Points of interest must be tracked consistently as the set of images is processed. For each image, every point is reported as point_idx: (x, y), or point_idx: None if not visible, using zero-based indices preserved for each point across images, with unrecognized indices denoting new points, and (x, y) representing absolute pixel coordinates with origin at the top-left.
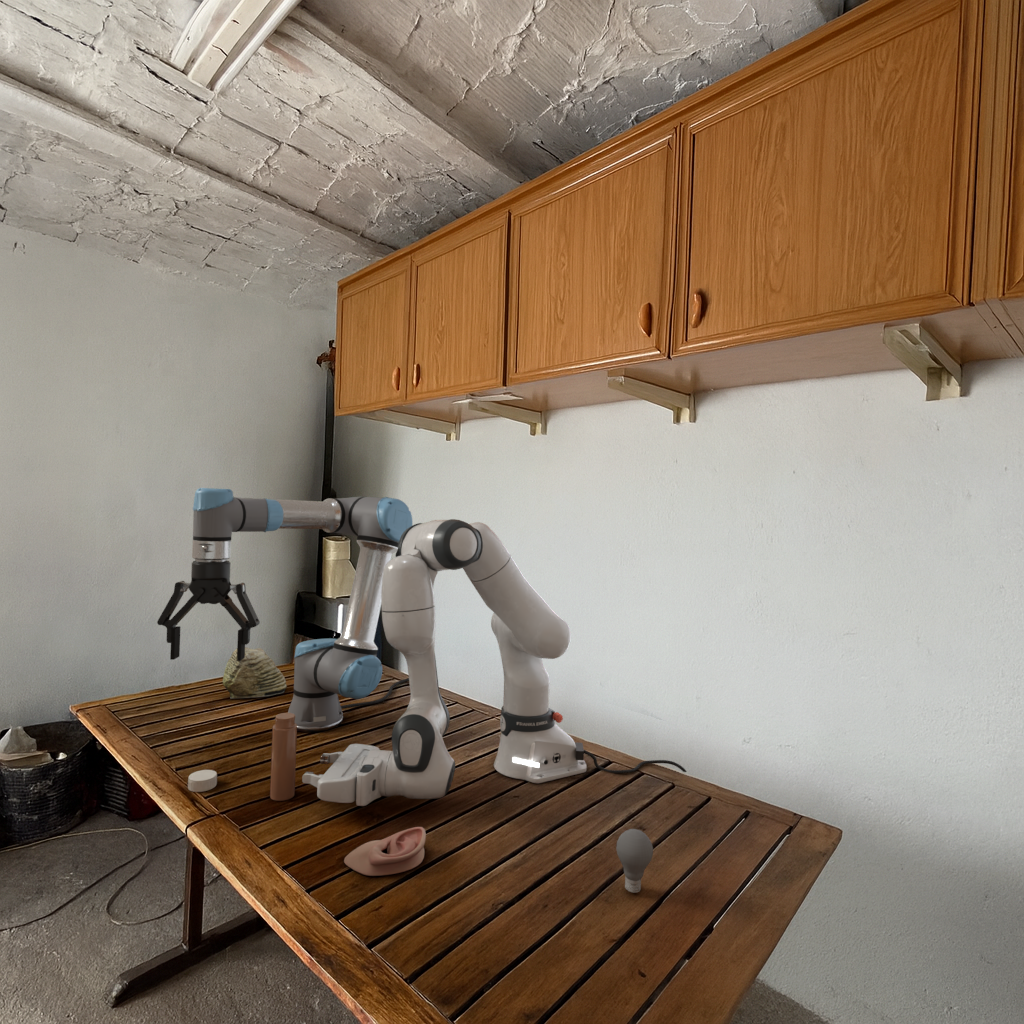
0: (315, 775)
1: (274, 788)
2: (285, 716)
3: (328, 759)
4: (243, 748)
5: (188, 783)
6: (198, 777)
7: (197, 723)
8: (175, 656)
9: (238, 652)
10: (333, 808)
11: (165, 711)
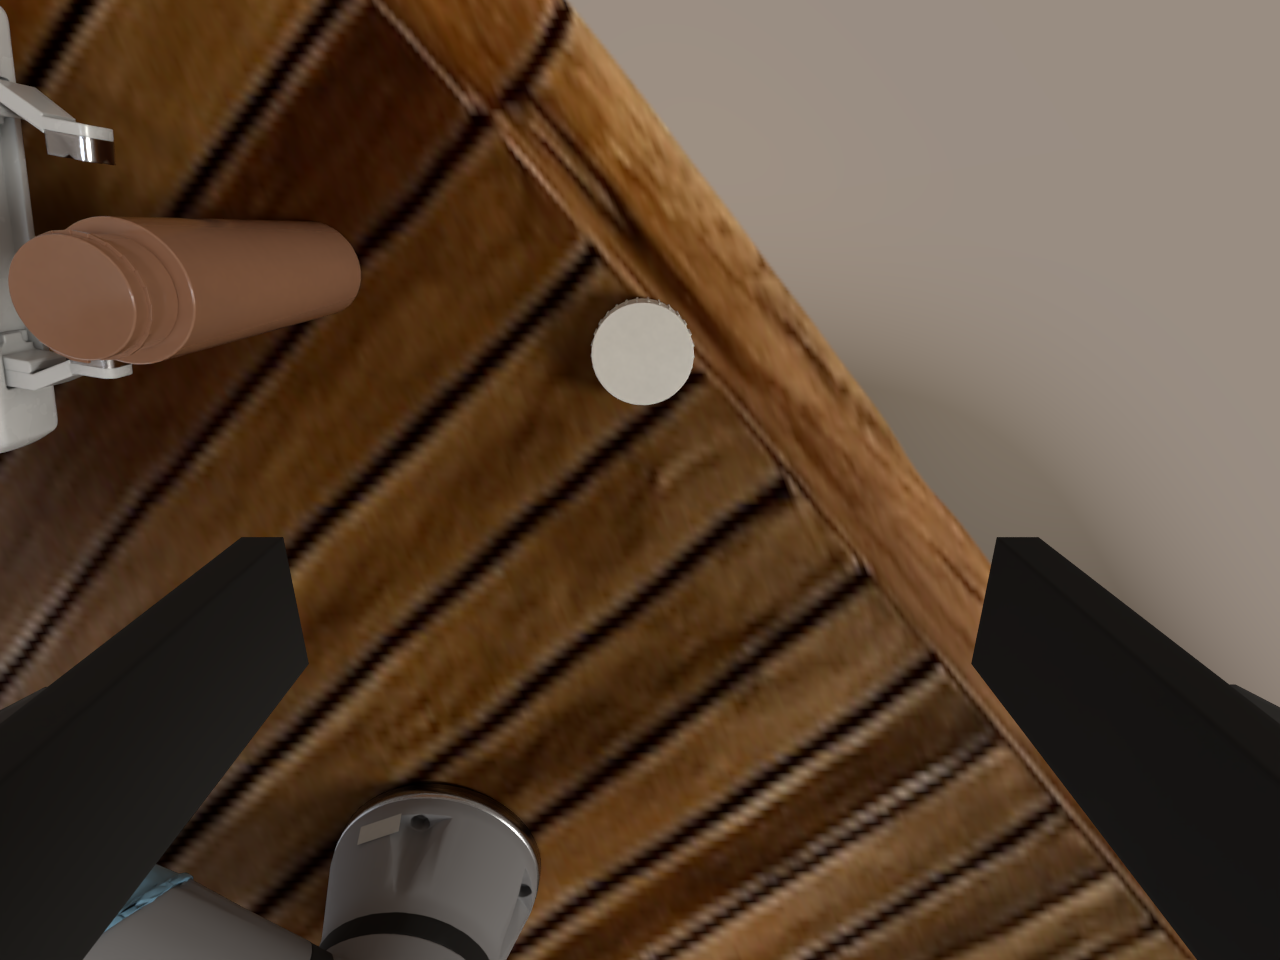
0: (13, 104)
1: (308, 225)
2: (61, 283)
3: None
4: (612, 656)
5: (684, 322)
6: (651, 333)
7: (844, 845)
8: (1003, 585)
9: (208, 585)
10: None
11: (984, 931)
